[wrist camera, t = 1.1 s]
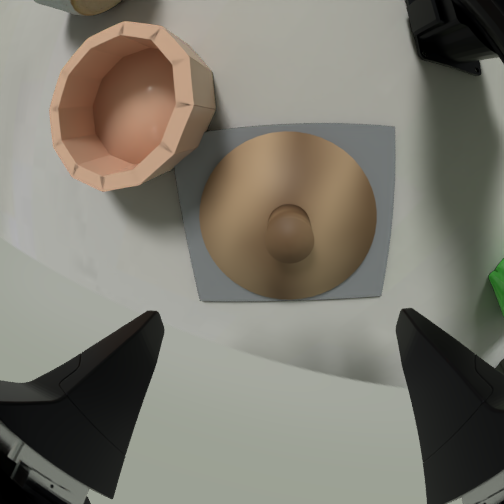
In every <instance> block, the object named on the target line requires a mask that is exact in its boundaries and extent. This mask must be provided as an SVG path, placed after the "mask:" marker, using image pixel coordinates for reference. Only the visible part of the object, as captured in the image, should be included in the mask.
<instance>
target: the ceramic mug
mask: <svg viewBox="0 0 504 504" xmlns="http://www.w3.org/2000/svg"><path fill="white" fill-rule="evenodd" d="M34 1H35V2H37V3H39V4H42V5H46V6H50V7H53V8H56V9H60V10H63V11H65V12H68V13H71V14H75V15H83V16H90V15H96V14H100V13H103V12H105V11H107V10H109V9H111V8H112V7H114V6H115V5H117V4H118V3H119V2H121V1H122V0H34Z"/></svg>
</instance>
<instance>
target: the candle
mask: <svg viewBox="0 0 504 504" xmlns="http://www.w3.org/2000/svg"><path fill="white" fill-rule="evenodd" d="M495 369H496V370H498V371H499V372H501V373H502V374H504V359H503V360H502V361H501V362H500V364H499V365H498V366H497V367H496V368H495Z"/></svg>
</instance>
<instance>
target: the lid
mask: <svg viewBox="0 0 504 504" xmlns="http://www.w3.org/2000/svg"><path fill="white" fill-rule="evenodd" d="M199 220H200V229H201V233H202V237H203V241H204V243H205V246H206V248H207V250H208V252H209V254H210V256H211V258H212V259H213V261H214V262H215V264H216V265H217V266H218V267H219V269H220V270H221V271H222V272H223V273H224V274H225V275H226V276H227V277H229V278H230V279H231V280H232V281H233V282H235V283H236V284H238V285H239V286H241V287H243V288H245V289H246V290H248V291H250V292H253V293H256V294H258V295H261V296H265V297H269V298H275V299H287V300H293V299H303V298H308V297H313V296H316V295H319V294H322V293H324V292H326V291H329V290H331V289H333V288H334V287H336V286H338V285H339V284H341V283H342V282H343V281H345V280H346V279H347V278H349V277H350V276H351V275H352V274H353V273H354V272H355V271H356V270H357V268H358V267H359V266H360V265H361V263H362V262H363V260H364V259H365V257H366V255H367V254H368V252H369V249H370V247H371V245H372V242H373V239H374V235H375V230H376V224H377V209H376V201H375V197H374V193H373V190H372V187H371V185H370V183H369V180H368V178H367V177H366V175H365V173H364V172H363V170H362V169H361V167H360V166H359V165H358V164H357V162H356V161H355V160H354V159H353V158H352V157H351V156H350V155H349V154H348V153H346V152H345V151H344V150H343V149H341V148H340V147H338V146H337V145H335V144H334V143H332V142H330V141H328V140H325V139H323V138H321V137H318V136H315V135H311V134H307V133H301V132H290V131H282V132H274V133H268V134H265V135H261V136H258V137H255V138H253V139H250V140H248V141H246V142H244V143H242V144H241V145H239V146H237V147H236V148H234V149H233V150H232V151H231V152H229V153H228V154H227V155H226V156H225V157H224V158H223V159H222V160H221V161H220V162H219V163H218V164H217V166H216V167H215V169H214V170H213V172H212V173H211V174H210V176H209V178H208V180H207V183H206V185H205V187H204V190H203V193H202V197H201V202H200V213H199Z"/></svg>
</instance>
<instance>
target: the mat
mask: <svg viewBox="0 0 504 504" xmlns="http://www.w3.org/2000/svg"><path fill="white" fill-rule="evenodd" d="M282 131H290V132H301V133H307V134H311V135H315V136H318V137H321V138H323V139H325V140H328V141H330V142H332V143H334V144H335V145H337V146H338V147H340V148H341V149H343V150H344V151H345V152H346V153H348V154H349V155H350V156H351V157H352V158H353V159H354V160H355V161H356V162H357V164H358V165H359V166H360V167H361V169H362V170H363V172H364V173H365V175H366V177H367V178H368V180H369V183H370V185H371V187H372V190H373V193H374V197H375V201H376V209H377V224H376V230H375V235H374V239H373V242H372V245H371V247H370V249H369V252H368V254H367V255H366V257H365V259H364V260H363V262H362V263H361V265H360V266H359V267H358V268H357V270H356V271H355V272H354V273H353V274H352V275H351V276H350V277H349V278H347V279H346V280H345V281H343V282H342V283H341V284H339V285H338V286H336V287H334V288H333V289H331V290H329V291H326V292H324V293H322V294H319V295H316V296H313V297H308V298H303V299H293V300H319V299H340V298H358V297H373V296H381V295H382V289H383V284H384V278H385V272H386V266H387V259H388V252H389V244H390V236H391V226H392V216H393V203H394V187H395V127H394V126H382V125H367V124H343V123H303V124H278V125H263V126H250V127H240V128H231V129H222V130H214V131H207V132H204V134H203V136H202V139H201V141H200V143H199V146H198V147H197V148H196V149H195V150H194V151H192V152H191V153H190V154H189V155H187V156H186V157H185V158H184V159H182V160H181V161H180V162H179V163H178V164H176V165H175V166H174V170H175V176H176V182H177V189H178V195H179V201H180V206H181V212H182V217H183V223H184V228H185V233H186V238H187V244H188V248H189V253H190V258H191V263H192V268H193V272H194V277H195V281H196V286H197V290H198V294H199V299H200V301H289V300H287V299H275V298H269V297H265V296H261V295H258V294H256V293H253V292H250V291H248V290H246V289H245V288H243V287H241V286H239V285H238V284H236V283H235V282H233V281H232V280H231V279H230V278H229V277H227V276H226V275H225V274H224V273H223V272H222V271H221V270H220V269H219V267H218V266H217V265H216V264H215V262H214V261H213V259H212V258H211V256H210V254H209V252H208V250H207V248H206V246H205V243H204V241H203V237H202V233H201V229H200V220H199V213H200V202H201V197H202V193H203V190H204V187H205V185H206V183H207V180H208V178H209V176H210V174H211V173H212V172H213V170H214V169H215V167H216V166H217V164H218V163H219V162H220V161H221V160H222V159H223V158H224V157H225V156H226V155H227V154H228V153H229V152H231V151H232V150H233V149H234V148H236V147H237V146H239V145H241V144H242V143H244V142H246V141H248V140H250V139H253V138H255V137H258V136H261V135H265V134H268V133H274V132H282Z"/></svg>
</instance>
